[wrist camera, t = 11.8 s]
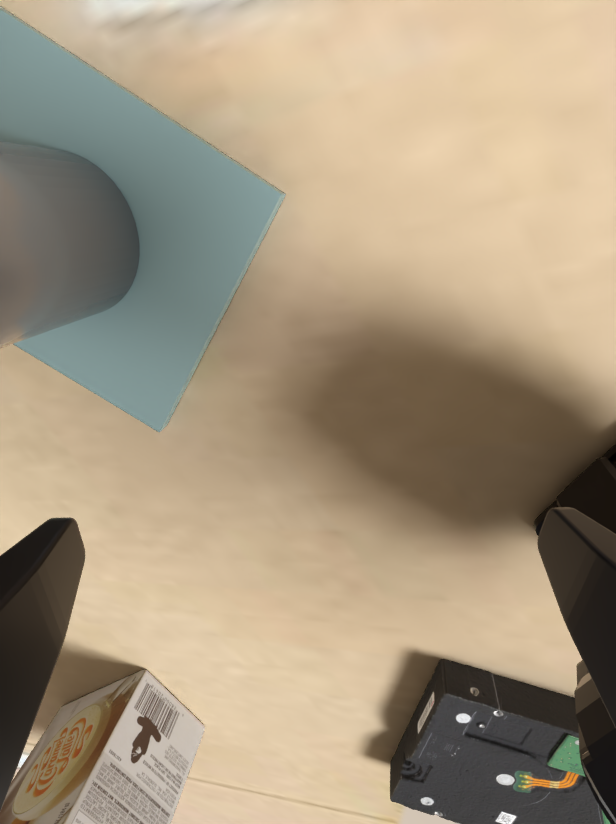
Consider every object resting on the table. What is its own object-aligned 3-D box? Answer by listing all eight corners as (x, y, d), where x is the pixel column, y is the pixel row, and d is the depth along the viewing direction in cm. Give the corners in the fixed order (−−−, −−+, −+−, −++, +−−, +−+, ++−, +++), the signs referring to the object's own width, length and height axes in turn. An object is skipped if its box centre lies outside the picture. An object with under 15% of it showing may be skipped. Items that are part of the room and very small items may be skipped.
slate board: (285, 194, 19) (281, 194, 18) (166, 425, 24) (159, 432, 23) (-41, -21, 18) (-60, -31, 17) (-93, 268, 23) (-109, 270, 22)
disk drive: (388, 755, 32) (620, 828, 30) (387, 804, 29) (640, 886, 28) (437, 647, 27) (710, 727, 26) (440, 693, 25) (743, 784, 24)
